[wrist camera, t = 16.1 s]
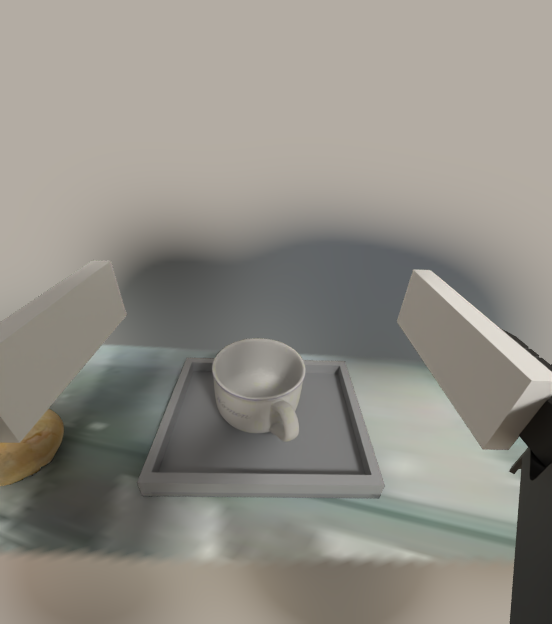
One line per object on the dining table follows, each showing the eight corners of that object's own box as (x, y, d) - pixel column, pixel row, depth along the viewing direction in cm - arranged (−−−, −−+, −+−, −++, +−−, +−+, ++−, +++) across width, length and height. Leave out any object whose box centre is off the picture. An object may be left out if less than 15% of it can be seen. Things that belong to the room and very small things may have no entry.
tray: (342, 373, 44) (345, 361, 43) (379, 498, 29) (385, 485, 27) (188, 370, 43) (186, 357, 42) (142, 496, 28) (136, 482, 27)
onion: (35, 420, 35) (8, 379, 31) (88, 436, 33) (66, 395, 30) (-41, 485, 28) (-86, 443, 25) (20, 508, 27) (-18, 467, 23)
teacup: (214, 385, 40) (208, 340, 36) (286, 373, 42) (289, 330, 38) (224, 485, 28) (219, 437, 24) (323, 460, 31) (333, 412, 27)
